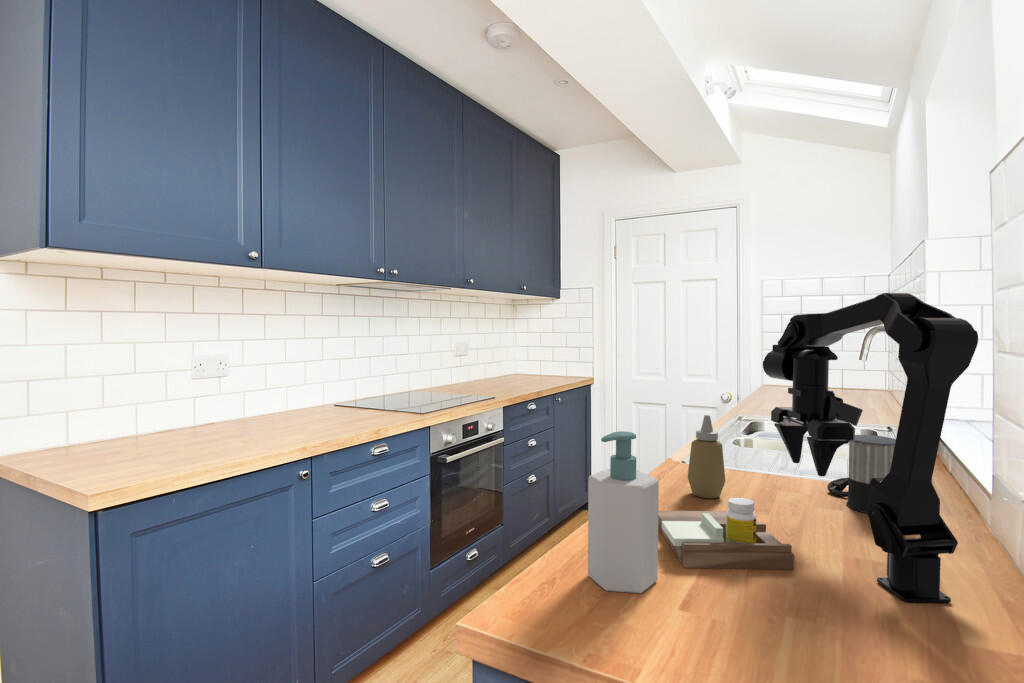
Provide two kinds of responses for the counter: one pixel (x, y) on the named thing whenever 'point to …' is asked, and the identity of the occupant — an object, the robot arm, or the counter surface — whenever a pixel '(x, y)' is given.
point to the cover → (694, 531)
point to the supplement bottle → (740, 521)
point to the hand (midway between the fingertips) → (808, 469)
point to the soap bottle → (623, 522)
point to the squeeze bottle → (706, 463)
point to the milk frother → (864, 468)
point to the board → (729, 547)
